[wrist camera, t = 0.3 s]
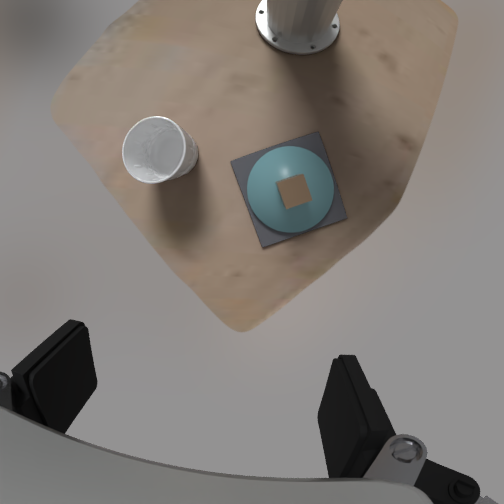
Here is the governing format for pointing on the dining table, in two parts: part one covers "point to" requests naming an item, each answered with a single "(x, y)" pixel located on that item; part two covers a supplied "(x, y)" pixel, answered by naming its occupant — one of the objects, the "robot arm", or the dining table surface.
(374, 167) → the dining table surface
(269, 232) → the mat
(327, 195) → the lid
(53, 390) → the robot arm
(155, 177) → the white cup
